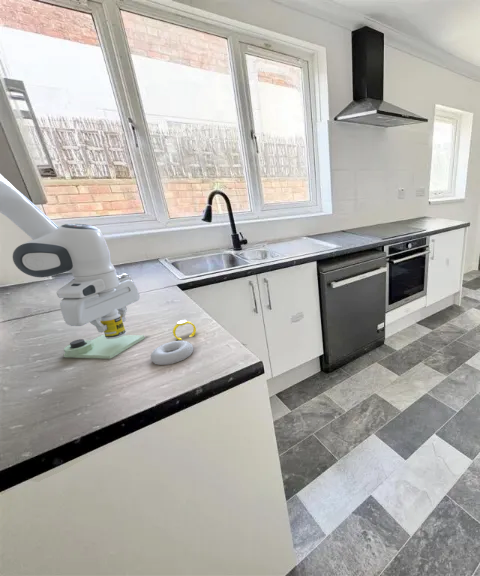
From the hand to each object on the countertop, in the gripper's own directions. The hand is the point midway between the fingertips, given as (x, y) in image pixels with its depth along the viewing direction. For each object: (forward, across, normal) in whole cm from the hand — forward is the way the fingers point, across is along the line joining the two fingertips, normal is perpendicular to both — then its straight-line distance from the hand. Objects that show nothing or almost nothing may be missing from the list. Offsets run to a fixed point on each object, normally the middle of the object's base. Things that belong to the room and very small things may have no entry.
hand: (112, 326), depth 91 cm
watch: (+7, -6, +18) cm, 20 cm away
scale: (+7, +2, -2) cm, 7 cm away
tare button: (+4, +5, -7) cm, 9 cm away
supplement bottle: (+3, 0, 0) cm, 3 cm away
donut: (+7, +6, +22) cm, 23 cm away
